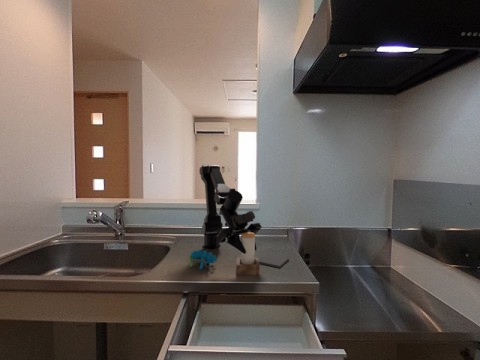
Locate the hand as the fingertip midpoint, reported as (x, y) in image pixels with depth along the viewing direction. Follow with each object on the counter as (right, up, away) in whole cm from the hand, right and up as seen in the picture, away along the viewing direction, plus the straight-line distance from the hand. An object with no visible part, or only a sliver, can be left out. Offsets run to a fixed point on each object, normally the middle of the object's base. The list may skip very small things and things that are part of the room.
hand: (250, 251), depth 101 cm
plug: (-1, -8, +1) cm, 8 cm away
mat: (+9, -7, +12) cm, 17 cm away
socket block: (-1, -8, +1) cm, 8 cm away
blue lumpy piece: (-18, -7, +5) cm, 20 cm away
